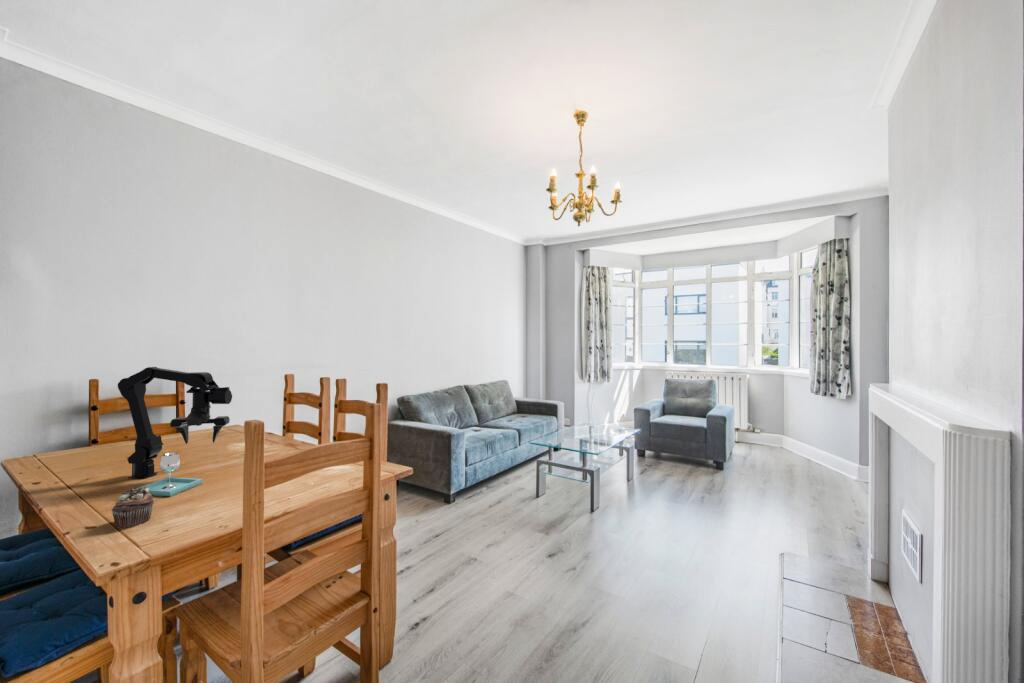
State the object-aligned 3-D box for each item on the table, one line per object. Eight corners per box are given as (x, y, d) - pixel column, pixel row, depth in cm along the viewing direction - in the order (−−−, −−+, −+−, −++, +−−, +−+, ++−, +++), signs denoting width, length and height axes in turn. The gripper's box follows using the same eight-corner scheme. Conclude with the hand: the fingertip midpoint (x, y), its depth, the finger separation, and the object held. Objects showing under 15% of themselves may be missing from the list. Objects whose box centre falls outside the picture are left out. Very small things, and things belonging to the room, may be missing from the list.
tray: (133, 494, 153) (133, 489, 153) (168, 481, 167) (168, 477, 167) (170, 496, 151) (170, 491, 151) (202, 483, 165) (202, 479, 165)
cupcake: (155, 513, 138) (156, 481, 137) (150, 524, 129) (151, 491, 129) (115, 519, 132) (115, 486, 132) (107, 531, 124) (108, 496, 124)
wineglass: (157, 490, 155) (158, 457, 155) (161, 485, 160) (162, 453, 160) (177, 488, 158) (178, 455, 158) (180, 483, 163) (181, 451, 163)
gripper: (164, 407, 164) (163, 449, 164) (221, 406, 170) (220, 446, 170) (176, 403, 175) (175, 442, 175) (230, 402, 181) (229, 440, 181)
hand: (200, 442), depth 175 cm, fingers open, 9 cm apart
